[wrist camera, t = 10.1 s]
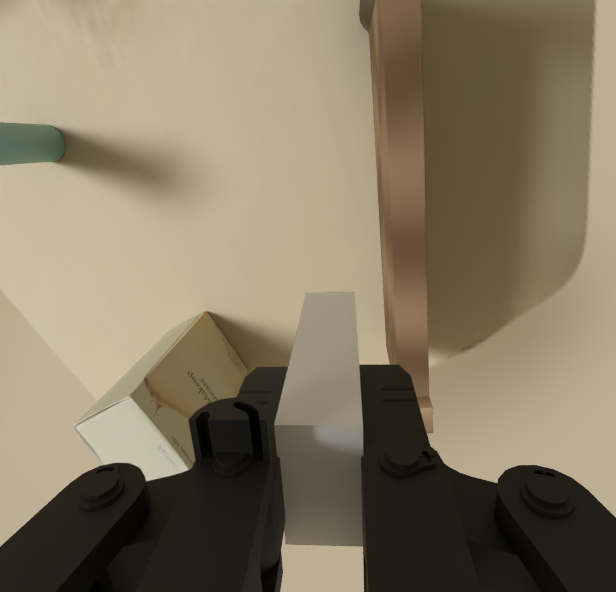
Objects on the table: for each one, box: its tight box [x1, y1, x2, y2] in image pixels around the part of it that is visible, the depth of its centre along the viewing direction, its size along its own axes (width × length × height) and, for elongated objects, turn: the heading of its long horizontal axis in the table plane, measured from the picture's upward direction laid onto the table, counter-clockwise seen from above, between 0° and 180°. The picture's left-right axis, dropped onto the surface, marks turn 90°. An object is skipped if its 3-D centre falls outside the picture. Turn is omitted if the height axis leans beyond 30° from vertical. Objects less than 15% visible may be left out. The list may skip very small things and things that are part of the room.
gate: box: [359, 0, 433, 433], centre depth 23 cm, size 22×2×13 cm, turn 6°
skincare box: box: [73, 312, 248, 481], centre depth 29 cm, size 6×4×12 cm
